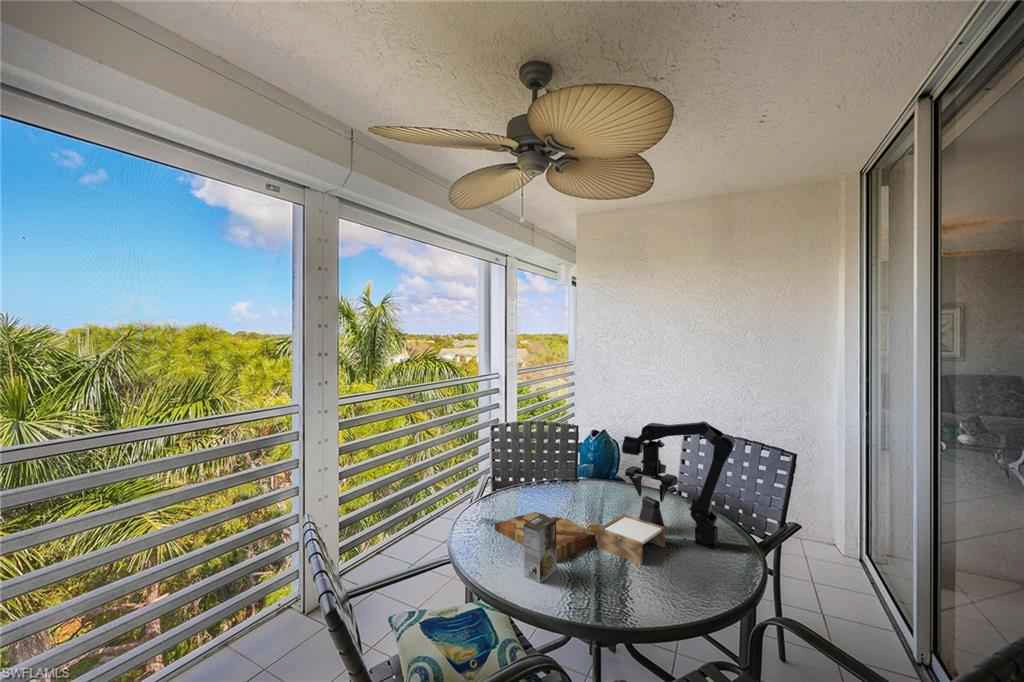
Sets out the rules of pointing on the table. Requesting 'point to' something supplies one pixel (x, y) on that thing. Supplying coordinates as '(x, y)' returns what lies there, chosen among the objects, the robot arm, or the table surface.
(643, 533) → the trapdoor
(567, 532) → the decorative slab
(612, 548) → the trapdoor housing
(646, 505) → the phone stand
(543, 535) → the coffee box
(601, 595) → the table surface
